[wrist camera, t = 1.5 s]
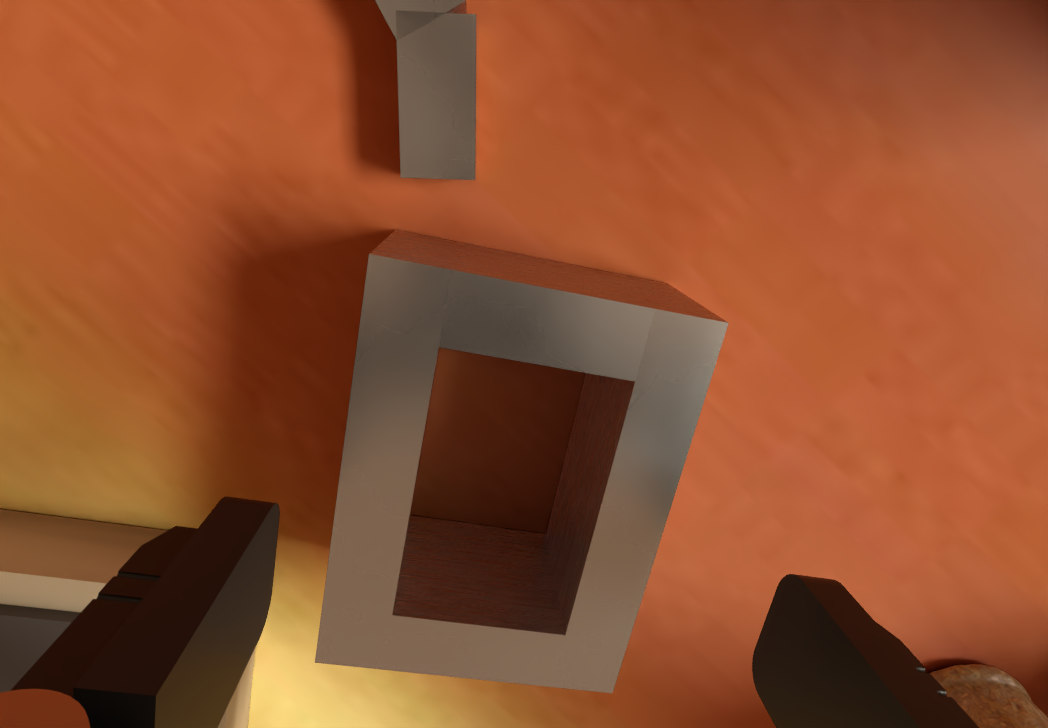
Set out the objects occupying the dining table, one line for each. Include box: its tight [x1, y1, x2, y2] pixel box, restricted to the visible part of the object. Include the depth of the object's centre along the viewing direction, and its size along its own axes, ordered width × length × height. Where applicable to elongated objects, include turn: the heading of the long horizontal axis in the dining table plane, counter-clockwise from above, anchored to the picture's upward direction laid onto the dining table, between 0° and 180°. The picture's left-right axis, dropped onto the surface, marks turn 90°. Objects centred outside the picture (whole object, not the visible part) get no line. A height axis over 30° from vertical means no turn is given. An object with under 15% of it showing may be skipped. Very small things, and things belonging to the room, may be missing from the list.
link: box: [315, 230, 728, 693], centre depth 13 cm, size 8×6×4 cm
